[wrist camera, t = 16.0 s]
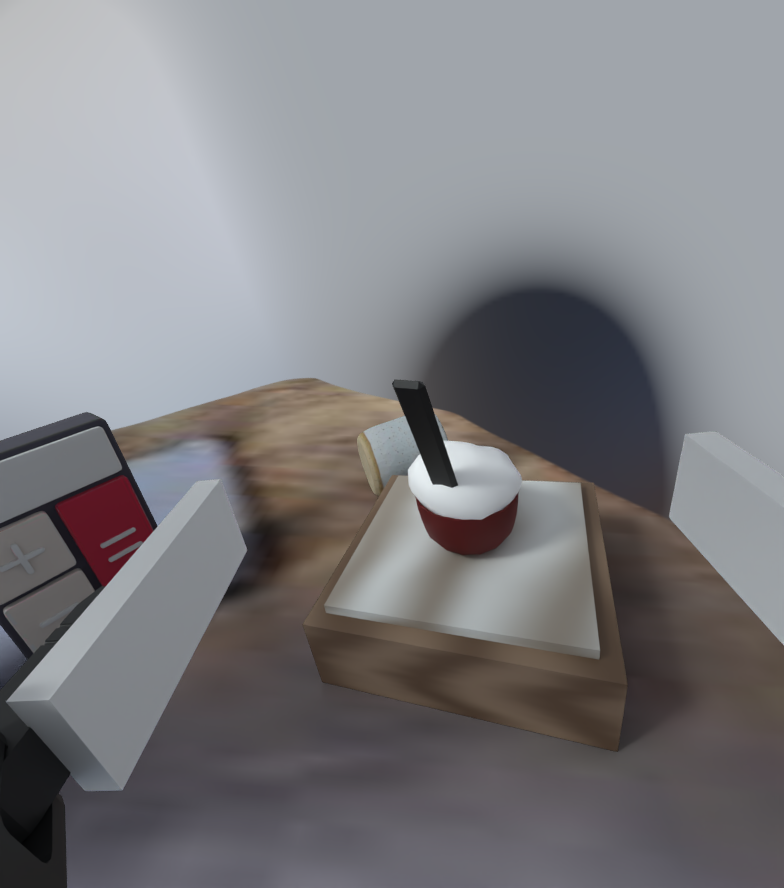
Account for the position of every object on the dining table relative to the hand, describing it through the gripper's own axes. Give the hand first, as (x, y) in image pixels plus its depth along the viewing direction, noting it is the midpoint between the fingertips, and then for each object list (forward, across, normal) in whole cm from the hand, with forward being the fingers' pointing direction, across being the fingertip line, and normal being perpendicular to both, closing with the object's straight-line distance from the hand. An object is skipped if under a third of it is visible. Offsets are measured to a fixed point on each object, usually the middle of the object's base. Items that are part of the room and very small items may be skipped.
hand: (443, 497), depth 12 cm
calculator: (+13, -28, -17) cm, 35 cm away
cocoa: (+11, +1, -11) cm, 16 cm away
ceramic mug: (+26, -3, -17) cm, 31 cm away
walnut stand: (+11, +2, -16) cm, 20 cm away
